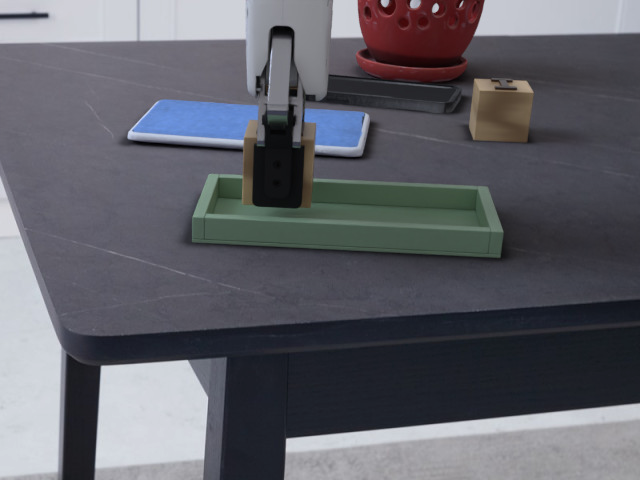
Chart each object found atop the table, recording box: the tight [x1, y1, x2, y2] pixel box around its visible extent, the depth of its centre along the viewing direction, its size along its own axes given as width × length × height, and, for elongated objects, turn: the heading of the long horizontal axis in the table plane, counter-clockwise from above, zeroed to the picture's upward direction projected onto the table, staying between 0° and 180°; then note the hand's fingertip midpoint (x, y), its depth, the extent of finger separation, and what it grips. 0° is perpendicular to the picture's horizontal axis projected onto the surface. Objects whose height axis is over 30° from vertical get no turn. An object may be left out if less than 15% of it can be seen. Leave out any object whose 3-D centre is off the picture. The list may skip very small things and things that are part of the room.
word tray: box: [191, 173, 505, 259], centre depth 77 cm, size 20×10×2 cm, turn 85°
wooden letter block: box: [468, 77, 535, 143], centre depth 99 cm, size 4×4×5 cm
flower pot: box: [355, 0, 486, 84], centre depth 119 cm, size 13×13×12 cm
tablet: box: [127, 98, 371, 158], centre depth 98 cm, size 19×13×1 cm, turn 81°
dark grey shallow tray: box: [305, 73, 463, 114], centre depth 111 cm, size 8×1×15 cm
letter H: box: [242, 120, 316, 208], centre depth 76 cm, size 4×4×5 cm
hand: (279, 191), depth 77 cm, fingers closed on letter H, 4 cm apart
